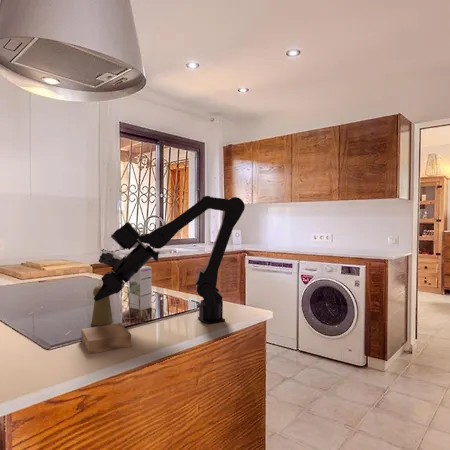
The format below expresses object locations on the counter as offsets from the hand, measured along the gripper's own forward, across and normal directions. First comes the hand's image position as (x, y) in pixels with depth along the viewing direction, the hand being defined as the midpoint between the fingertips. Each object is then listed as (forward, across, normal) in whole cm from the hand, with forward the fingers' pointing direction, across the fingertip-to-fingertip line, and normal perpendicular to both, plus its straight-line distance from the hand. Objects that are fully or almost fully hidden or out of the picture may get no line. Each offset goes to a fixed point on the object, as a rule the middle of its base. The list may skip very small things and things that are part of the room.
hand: (97, 297), depth 106 cm
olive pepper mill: (+4, 0, +6) cm, 8 cm away
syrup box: (-2, -15, +13) cm, 20 cm away
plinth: (+1, +18, +10) cm, 20 cm away
